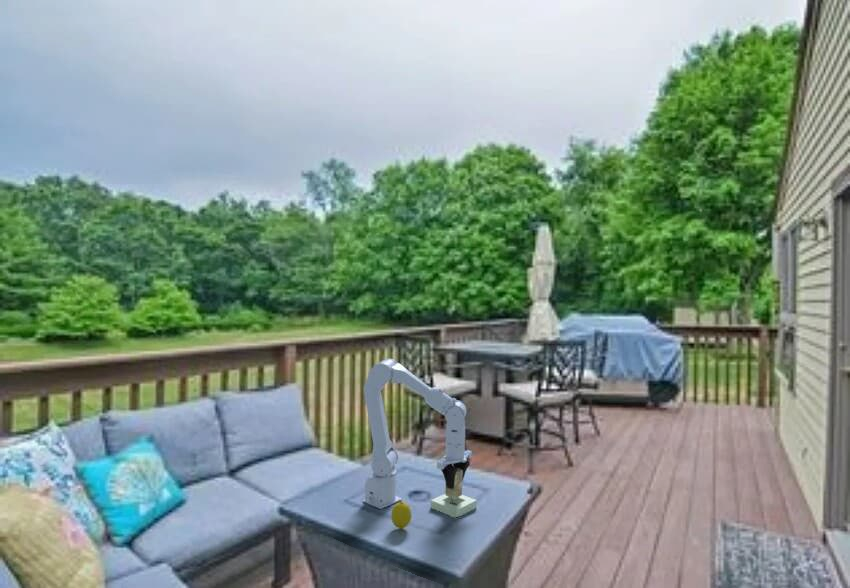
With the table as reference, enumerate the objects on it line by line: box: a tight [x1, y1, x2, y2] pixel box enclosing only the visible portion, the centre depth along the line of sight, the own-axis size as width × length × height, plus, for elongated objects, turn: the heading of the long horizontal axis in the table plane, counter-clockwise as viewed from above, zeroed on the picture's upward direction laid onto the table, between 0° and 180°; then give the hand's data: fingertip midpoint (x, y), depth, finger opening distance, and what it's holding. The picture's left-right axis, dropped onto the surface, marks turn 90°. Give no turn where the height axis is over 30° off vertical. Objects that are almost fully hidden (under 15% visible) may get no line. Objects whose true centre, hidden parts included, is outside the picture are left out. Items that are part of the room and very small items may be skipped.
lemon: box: [391, 500, 412, 530], centre depth 164 cm, size 6×6×8 cm
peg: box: [444, 467, 463, 499], centre depth 178 cm, size 4×4×8 cm
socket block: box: [430, 493, 478, 518], centre depth 178 cm, size 10×10×2 cm
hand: (454, 485), depth 178 cm, fingers closed on peg, 4 cm apart
